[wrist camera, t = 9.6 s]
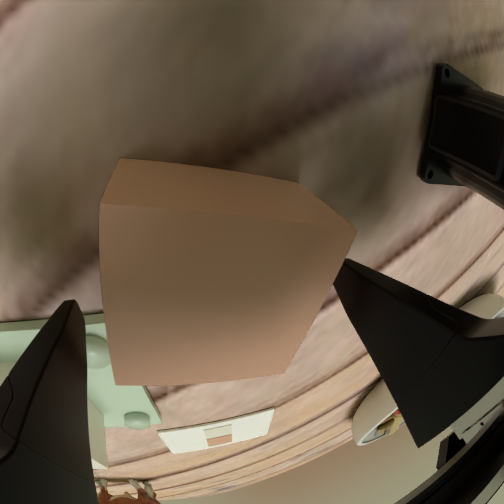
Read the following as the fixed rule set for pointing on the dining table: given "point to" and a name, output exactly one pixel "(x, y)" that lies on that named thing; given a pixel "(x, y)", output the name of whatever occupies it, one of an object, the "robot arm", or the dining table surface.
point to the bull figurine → (127, 494)
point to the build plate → (91, 373)
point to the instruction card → (217, 432)
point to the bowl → (380, 399)
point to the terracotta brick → (211, 271)
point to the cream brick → (94, 423)
